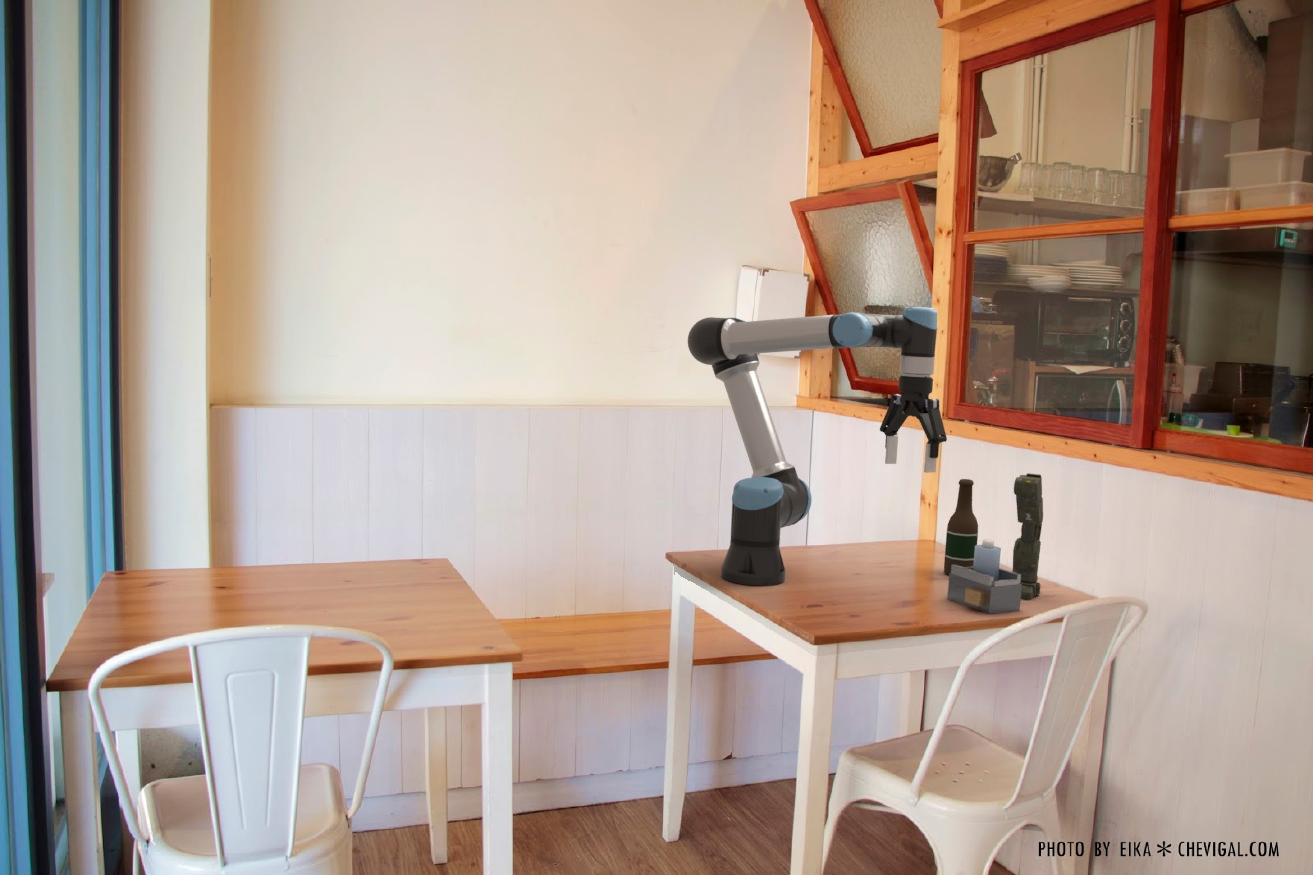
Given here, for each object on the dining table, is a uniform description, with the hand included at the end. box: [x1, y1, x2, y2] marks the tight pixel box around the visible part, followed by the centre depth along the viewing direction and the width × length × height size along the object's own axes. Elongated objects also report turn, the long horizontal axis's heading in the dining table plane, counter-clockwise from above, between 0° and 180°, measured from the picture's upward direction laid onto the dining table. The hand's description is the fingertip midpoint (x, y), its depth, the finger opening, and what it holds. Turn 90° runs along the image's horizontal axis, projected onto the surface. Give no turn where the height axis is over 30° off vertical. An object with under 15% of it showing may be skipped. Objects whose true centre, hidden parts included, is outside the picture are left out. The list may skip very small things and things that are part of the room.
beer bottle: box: [943, 478, 979, 576], centre depth 262 cm, size 8×8×24 cm
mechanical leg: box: [1012, 472, 1044, 601], centre depth 245 cm, size 14×7×30 cm, turn 149°
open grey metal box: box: [946, 564, 1022, 615], centre depth 236 cm, size 15×11×8 cm
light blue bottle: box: [973, 539, 1002, 581], centre depth 235 cm, size 6×6×8 cm
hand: (909, 468), depth 242 cm, fingers open, 13 cm apart
